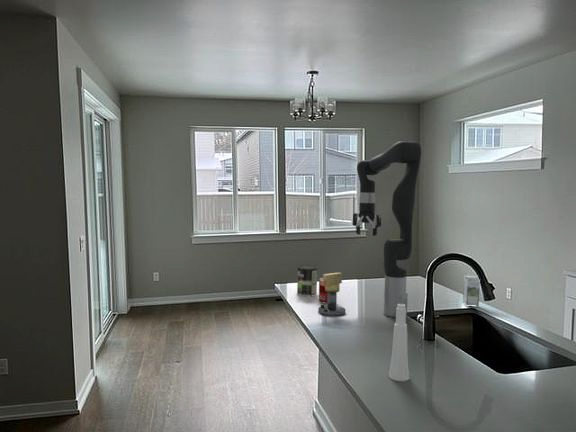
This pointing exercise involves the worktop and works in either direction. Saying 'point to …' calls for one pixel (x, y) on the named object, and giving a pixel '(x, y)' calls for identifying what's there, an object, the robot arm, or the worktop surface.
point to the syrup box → (471, 290)
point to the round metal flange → (331, 306)
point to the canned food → (322, 293)
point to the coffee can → (307, 280)
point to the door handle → (332, 282)
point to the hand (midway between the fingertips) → (366, 235)
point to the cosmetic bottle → (399, 347)
